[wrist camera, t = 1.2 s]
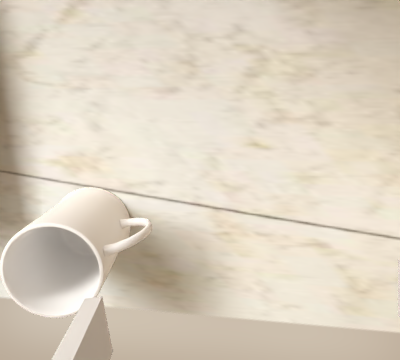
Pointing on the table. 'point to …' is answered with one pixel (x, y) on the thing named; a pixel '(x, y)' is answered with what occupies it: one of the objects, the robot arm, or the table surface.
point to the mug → (68, 252)
